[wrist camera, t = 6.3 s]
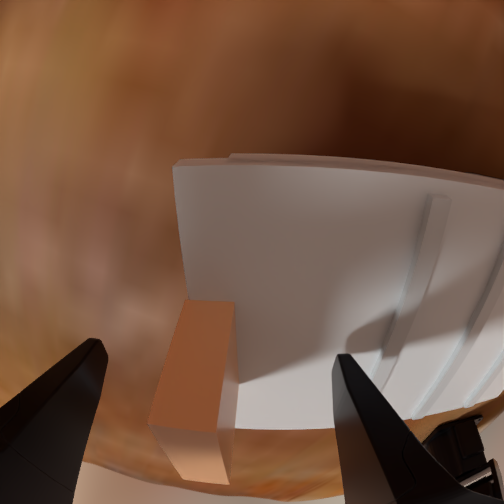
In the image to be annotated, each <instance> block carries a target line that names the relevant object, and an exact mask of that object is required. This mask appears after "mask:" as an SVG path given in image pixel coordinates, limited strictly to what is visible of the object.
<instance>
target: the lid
mask: <svg viewBox="0 0 504 504" xmlns="http://www.w3.org/2000/svg"><path fill="white" fill-rule="evenodd" d="M172 170H173V181H174V191H175V200H176V210H177V218H178V227H179V235H180V243H181V250H182V258H183V265H184V272H185V279H186V285H187V292H188V298H189V300H185V302H184V305H183V308H182V311H181V314H180V317H179V320H178V323H177V326H176V329H175V332H174V335H173V339H172V342H171V345H170V348H169V351H168V354H167V357H166V361H165V364H164V367H163V370H162V373H161V377H160V380H159V383H158V387H157V390H156V393H155V397H154V400H153V404H152V407H151V410H150V414H149V417H148V421H147V425H148V426H149V428H150V430H151V431H152V433H153V435H154V436H155V438H156V440H157V441H158V443H159V444H160V446H161V447H162V449H163V451H164V452H165V454H166V455H167V457H168V458H169V460H170V461H171V463H172V464H173V466H174V467H175V468H176V470H177V471H178V473H179V474H180V476H181V477H182V478H183V479H184V480H191V481H199V482H207V483H216V484H228V485H229V483H230V473H231V462H232V452H233V442H234V431H235V428H242V429H274V430H291V429H323V428H335V426H334V419H333V398H332V376H331V375H332V368H333V365H334V361H335V358H336V355H337V354H342V353H349V354H351V355H352V357H353V358H354V359H355V360H356V362H357V363H358V364H359V366H360V367H361V368H362V369H363V371H364V372H365V373H366V374H367V376H368V377H369V378H370V379H371V381H372V382H373V383H374V384H375V386H376V387H377V388H378V389H379V391H380V392H381V393H382V395H383V396H384V397H385V398H386V400H387V401H388V402H389V403H390V405H391V406H392V407H393V408H394V410H395V411H396V412H397V414H398V415H399V416H400V417H401V419H402V420H405V419H411V418H412V420H415V419H420V418H423V417H424V416H427V415H432V414H436V413H441V412H445V411H450V410H454V409H458V408H462V407H465V408H468V407H471V406H474V404H476V403H480V402H483V401H487V400H490V399H493V398H496V397H498V396H499V395H500V393H501V392H502V391H503V390H504V181H503V180H498V179H493V178H489V177H484V176H479V175H474V174H469V173H463V172H458V171H452V170H446V169H440V168H433V167H427V166H420V165H412V164H405V163H397V162H388V161H379V160H369V159H358V158H346V157H333V156H316V155H296V154H255V153H231V154H230V156H229V158H200V159H180V160H179V161H178V162H177V163H176V164H175V165H173V166H172Z"/></svg>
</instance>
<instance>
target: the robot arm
mask: <svg viewBox="0 0 504 504" xmlns="http://www.w3.org/2000/svg"><path fill="white" fill-rule="evenodd" d="M107 364H108V354H107V352H106V350H105V348H104V345H103V343H102V341H101V340H100V339H96V338H89V339H87V340H86V341H84V342H83V343H82V344H81V345H79V346H78V347H77V348H75V349H74V350H73V351H72V352H70V353H69V354H68V355H66V356H65V357H64V358H63V359H61V360H60V361H59V362H57V363H56V364H55V365H54V366H52V367H51V368H50V369H49V370H47V371H46V372H45V373H44V374H42V375H41V376H40V377H38V378H37V379H36V380H35V381H33V382H32V383H31V384H30V385H28V386H27V387H26V388H25V389H24V390H22V391H21V392H20V393H18V394H17V395H16V396H15V397H14V398H12V399H11V400H10V401H8V402H7V403H6V404H5V405H3V406H2V407H0V504H72V503H73V498H74V492H75V488H76V484H77V479H78V475H79V471H80V467H81V463H82V459H83V455H84V451H85V448H86V444H87V440H88V437H89V433H90V430H91V426H92V423H93V420H94V416H95V413H96V410H97V407H98V403H99V400H100V396H101V392H102V387H103V382H104V377H105V373H106V368H107ZM331 376H332V398H333V419H334V426H335V432H336V439H337V445H338V452H339V459H340V466H341V473H342V481H343V489H344V497H345V504H504V487H503V481H502V476H501V472H500V469H499V466H498V463H497V461H496V460H495V459H491V460H489V462H487V461H486V458H485V455H484V452H483V451H484V447H483V444H482V440H481V437H480V435H479V432H478V429H477V426H476V425H477V424H478V423H479V422H480V421H481V420H482V419H483V416H482V415H478V416H475V417H472V418H468V419H465V420H461V421H458V422H454V423H450V424H446V425H442V426H439V427H438V428H436V429H435V430H434V431H433V432H432V434H431V435H430V436H429V437H428V438H427V439H426V440H425V441H424V442H423V443H422V444H421V443H420V441H419V440H418V439H417V438H416V437H415V435H414V434H413V433H412V431H410V429H409V428H408V426H407V425H406V424H405V423H404V421H403V420H402V419H401V417H400V416H399V415H398V414H397V412H396V411H395V410H394V408H393V407H392V406H391V405H390V403H389V402H388V401H387V400H386V398H385V397H384V396H383V395H382V393H381V392H380V391H379V389H378V388H377V387H376V386H375V384H374V383H373V382H372V381H371V379H370V378H369V377H368V376H367V374H366V373H365V372H364V371H363V369H362V368H361V367H360V366H359V364H358V363H357V362H356V360H355V359H354V358H353V357H352V355H351V354H349V353H342V354H337V355H336V358H335V361H334V365H333V368H332V375H331ZM490 471H491V472H492V474H491V475H489V476H487V477H486V476H485V477H484V478H482V479H480V480H478V481H476V482H474V483H472V484H470V485H468V486H466V487H464V485H466V484H468V483H469V482H472V481H474V480H476V479H477V478H479V477H481V476H483V475H485V474H487V473H488V472H490Z"/></svg>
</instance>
